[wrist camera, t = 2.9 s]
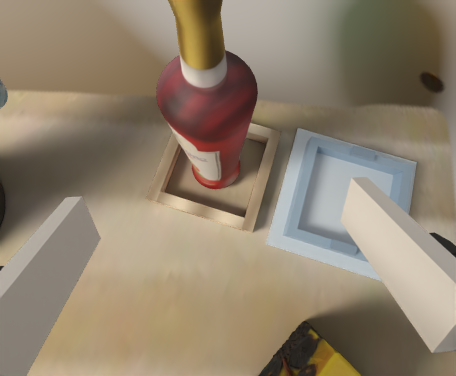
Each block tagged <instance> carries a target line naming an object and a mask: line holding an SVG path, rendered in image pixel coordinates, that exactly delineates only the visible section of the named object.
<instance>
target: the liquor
mask: <svg viewBox="0 0 456 376" xmlns="http://www.w3.org/2000/svg"><path fill="white" fill-rule="evenodd" d="M168 1H169V3H170V6H171V8H172V11H173V13H174V16H175V20H176V27H177V35H178V44H179V52H180V55H179V56H177V57H176V58H174V59H173V60H172V61H171V62H170V63H169V64H168V65H167V66H166V67H165V69H164V70H163V71H162V73H161V76H160V78H159V80H158V84H157V101H158V106H159V108H160V110H161V112H162V114H163V116H164V118H165V119H166V121H167V123H168V124H169V126H170V128H171V130H172V131H173V133H174V135H175V137H176V139H177V140H178V142H179V144H180V145H181V147H182V148H183V150H184V151H185V153H186V154H187V156H188V158H189V159H190V161H191V163H192V171H193V174H194V176H195V178H196V179H197V181H198V182H199V183H200V184H201V185H203V186H205V187H207V188H211V189H221V188H225V187H227V186H229V185H230V184H232V183H233V182H234V181H235V180H236V178H237V177H238V175H239V172H240V160H239V157H240V154H241V150H242V147H243V144H244V141H245V138H246V135H247V132H248V129H249V125H250V122H251V118H252V115H253V111H254V108H255V105H256V102H257V94H258V91H257V83H256V79H255V76H254V74H253V72H252V71H251V69H250V67H248V65H247V64H246V63H245V62H244V61H243V60H242V59H241V58H239V57H238V56H237V55H235V54H233V53H231V52H229V51H226V50H225V47H224V38H223V30H222V22H221V15H220V12H221V6H222V0H168Z"/></svg>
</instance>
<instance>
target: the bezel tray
mask: <svg viewBox="0 0 456 376" xmlns="http://www.w3.org/2000/svg"><path fill="white" fill-rule="evenodd" d="M416 164H417V162H414V161H411V160H407V159H404V158H400V157H397V156H393V155H390V154H386V153H383V152H380V151H376V150H373V149H369V148H366V147H362V146H359V145H356V144H352V143H349V142H345V141H342V140H338V139H335V138H331V137H328V136H325V135H321V134H318V133H314V132H311V131H307V130H304V129H301V128H298V129H297V132H296V135H295V139H294V142H293V146H292V150H291V153H290V157H289V161H288V164H287V168H286V172H285V175H284V179H283V183H282V186H281V190H280V193H279V197H278V201H277V204H276V208H275V212H274V215H273V219H272V223H271V226H270V230H269V234H268V237H267V241H266V244H267V245H270V246H273V247H276V248H279V249H282V250H285V251H288V252H292V253H295V254H298V255H301V256H304V257H307V258H310V259H313V260H316V261H319V262H323V263H326V264H329V265H332V266H335V267H338V268H341V269H344V270H347V271H351V272H354V273H357V274H360V275H363V276H366V277H369V278H372V279H375V280H379V281H382V280H381V279H380V277H379V276H378V275H377V273H376V272H375V270H374V269H373V267H372V266H371V265H370V263H369V262H368V260H367V259H366V257H365V256H364V254H363V253H362V252H361V250H360V249H359V247H358V246H357V244H356V243H355V241H354V240H353V239H352V237H351V236H350V234H349V233H348V231H347V230H346V229H345V227H344V226H343V224H342V223H341V221H340V220H341V216H342V212H343V208H344V205H345V201H346V197H347V193H348V189H349V185H350V181H351V178H355V177H368V178H369V179H370V180H371V181H372V182H373V183H374V184H375V185H376V186H377V187H378V188H380V189H381V190H382V191H383V192H384V193H385V194H386V195H387V196H388V197H389V198H391V199H392V200H393V201H394V202H395V203H396V204H397V205H398V206H399V207H400V208H402V209H403V210H404V211H405V212H406V213H407V214H408V215H409V211H410V204H411V198H412V191H413V184H414V178H415V171H416Z"/></svg>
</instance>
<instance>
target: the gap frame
mask: <svg viewBox="0 0 456 376" xmlns="http://www.w3.org/2000/svg"><path fill="white" fill-rule="evenodd" d="M280 136H281V132H280V131H277V130H273V129H270V128H267V127H263V126H260V125H256V124H253V123H250V125H249V129H248V132H247V135H246V138H249V139H253V140H256V141H259V142H263V143H266V147H265V150H264V154H263V157H262V160H261V164H260V167H259V170H258V174H257V177H256V180H255V184H254V187H253V190H252V194H251V197H250V200H249V204H248V207H247V210H246V214H245V217H244V218H243V217H240V216H237V215H234V214H230V213H227V212H224V211H221V210H218V209H215V208H212V207H208V206H205V205H202V204H199V203H196V202H193V201H189V200H186V199H183V198H180V197H177V196H174V195H170V194H167V193H164V192H165V190H166V187H167V185H168V182H169V179H170V177H171V174H172V171H173V169H174V166H175V164H176V161H177V158H178V156H179V153H180V151H181V148H182V147H181V145H180V144H179V142H178V140H177V139H176V137H175V135H174V133H173V131H172V134H171V136H170V139H169V141H168V144H167V146H166V149H165V151H164V154H163V156H162V159H161V161H160V164H159V166H158V169H157V171H156V174H155V176H154V179H153V181H152V184H151V186H150V189H149V191H148V194H147V196H146V199H148V200H150V201H152V202H155V203H159V204H162V205H165V206H168V207H171V208H174V209H177V210H180V211H184V212H187V213H190V214H193V215H196V216H199V217H202V218H205V219H209V220H212V221H215V222H218V223H221V224H224V225H227V226H230V227H234V228H237V229H240V230H243V231H246V232H249V233H252V232H253V229H254V225H255V222H256V218H257V215H258V212H259V208H260V205H261V201H262V198H263V194H264V191H265V187H266V184H267V180H268V177H269V174H270V170H271V167H272V163H273V160H274V156H275V153H276V149H277V146H278V142H279V139H280Z"/></svg>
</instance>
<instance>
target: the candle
mask: <svg viewBox="0 0 456 376" xmlns="http://www.w3.org/2000/svg"><path fill="white" fill-rule="evenodd" d="M259 376H362V375H360V374H359V373H358V372H357V371H356V370H355V369H354V368H353V367H352V366H351V364H350V363H349V362H348V361H347V360H346V359H345V358H344V357H343V356H342V355H341V354H340V353H338V352H337V351H336V350H335V349H334V348H333V347H331V346H330V345H329V343H328V342H327V341H326V340H324V339H323V338H322V337H321V336H320V335H319V334H318V333H317V332H316V331H315V330H314V329H313V328H312V327H311V326H310V325H309V324H308V323H307V322H305V321H304V322H302V323H301V324H300V325H299V326H298V327H297V329H296V331H294V332H293V333H292V334H291V335H290V337H289V340H287V341H286V342H285V343H284V344H283V345H282V347H281V348H280V349H279V350H278V351H277V353H276V354H275V355H273V358H272V359H271V361H270V362H269V363H268V365H267V366H266V367H265V368H264V369H263V370H262V372H261V373H260V374H259Z"/></svg>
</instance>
